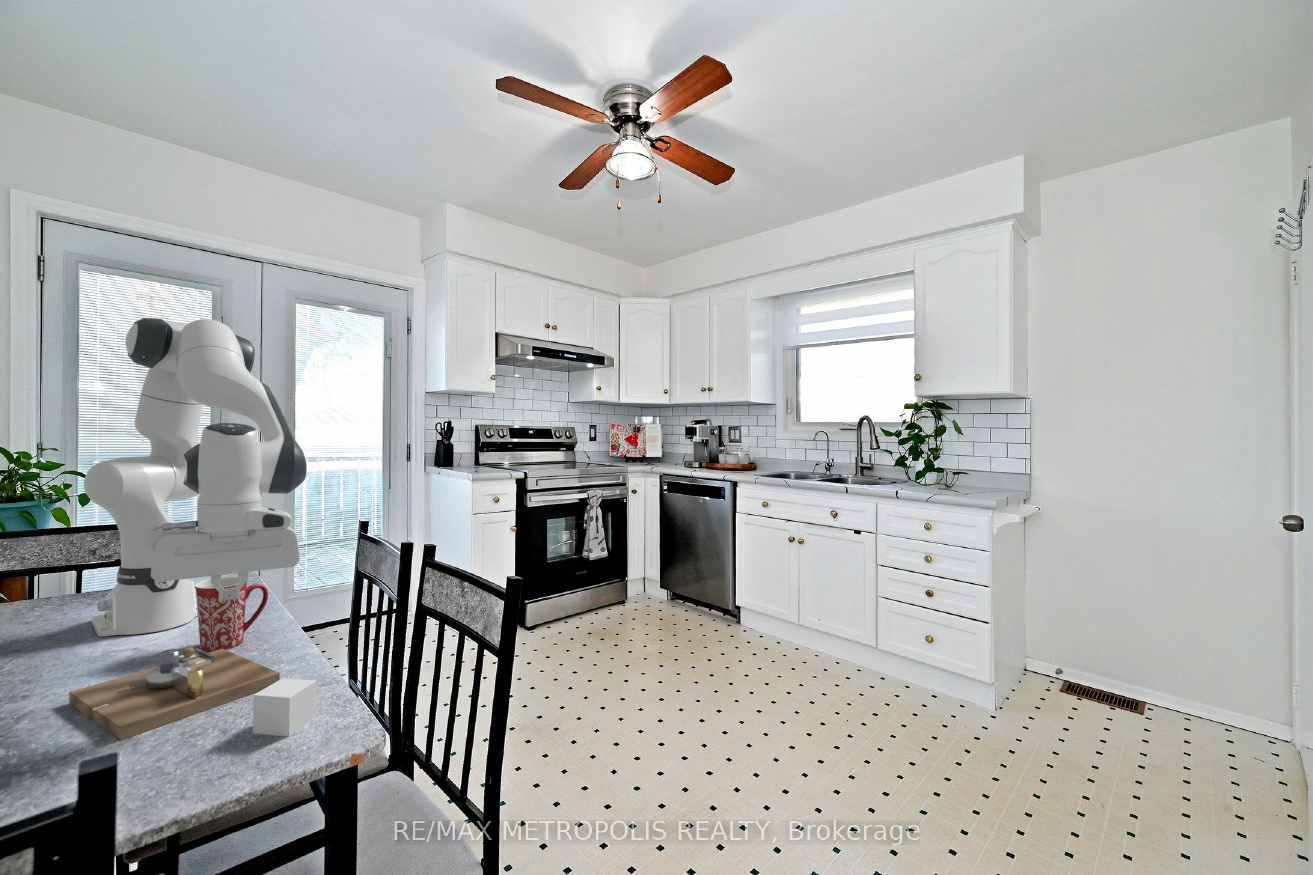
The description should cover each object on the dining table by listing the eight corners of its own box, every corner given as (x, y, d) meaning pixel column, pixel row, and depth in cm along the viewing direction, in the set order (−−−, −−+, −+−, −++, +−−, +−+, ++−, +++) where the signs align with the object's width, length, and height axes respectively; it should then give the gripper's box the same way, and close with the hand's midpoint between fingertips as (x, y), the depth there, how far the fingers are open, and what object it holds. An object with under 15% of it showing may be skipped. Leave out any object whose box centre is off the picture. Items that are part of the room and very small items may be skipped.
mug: (195, 657, 114) (195, 590, 114) (192, 643, 121) (193, 580, 121) (270, 642, 123) (271, 579, 122) (264, 630, 129) (265, 571, 129)
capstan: (127, 686, 96) (127, 657, 96) (193, 666, 104) (193, 639, 104) (162, 707, 89) (162, 675, 89) (230, 684, 98) (230, 655, 97)
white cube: (282, 714, 93) (283, 677, 93) (316, 717, 92) (317, 680, 92) (252, 733, 87) (253, 694, 87) (289, 736, 86) (289, 697, 86)
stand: (64, 703, 95) (64, 676, 95) (220, 657, 114) (220, 635, 114) (118, 741, 84) (118, 711, 84) (279, 683, 103) (279, 659, 103)
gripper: (147, 526, 88) (146, 615, 89) (301, 516, 101) (300, 594, 101) (150, 521, 93) (149, 605, 94) (297, 511, 106) (296, 585, 106)
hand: (229, 599), depth 97 cm, fingers closed
